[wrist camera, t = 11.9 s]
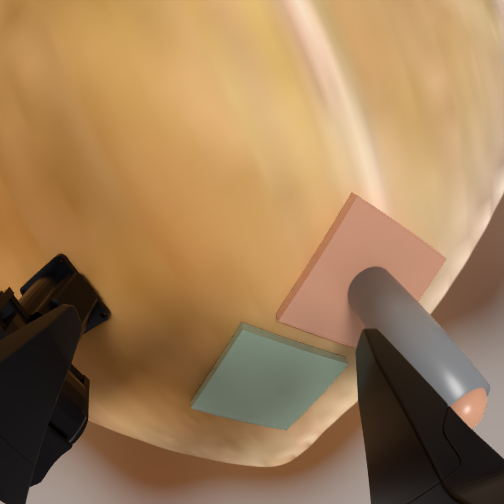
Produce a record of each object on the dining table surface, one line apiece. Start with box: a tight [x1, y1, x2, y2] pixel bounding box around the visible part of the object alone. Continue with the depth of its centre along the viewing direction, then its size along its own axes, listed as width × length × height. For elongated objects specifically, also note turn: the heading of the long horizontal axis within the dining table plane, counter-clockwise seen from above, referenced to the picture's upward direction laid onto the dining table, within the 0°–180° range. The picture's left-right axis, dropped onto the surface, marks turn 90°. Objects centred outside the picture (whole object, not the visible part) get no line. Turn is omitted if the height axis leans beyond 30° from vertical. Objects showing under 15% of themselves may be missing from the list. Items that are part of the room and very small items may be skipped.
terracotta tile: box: [276, 193, 446, 348], centre depth 24 cm, size 11×11×1 cm
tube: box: [348, 266, 490, 429], centre depth 17 cm, size 4×4×14 cm
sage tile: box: [191, 322, 349, 430], centre depth 27 cm, size 11×11×1 cm
